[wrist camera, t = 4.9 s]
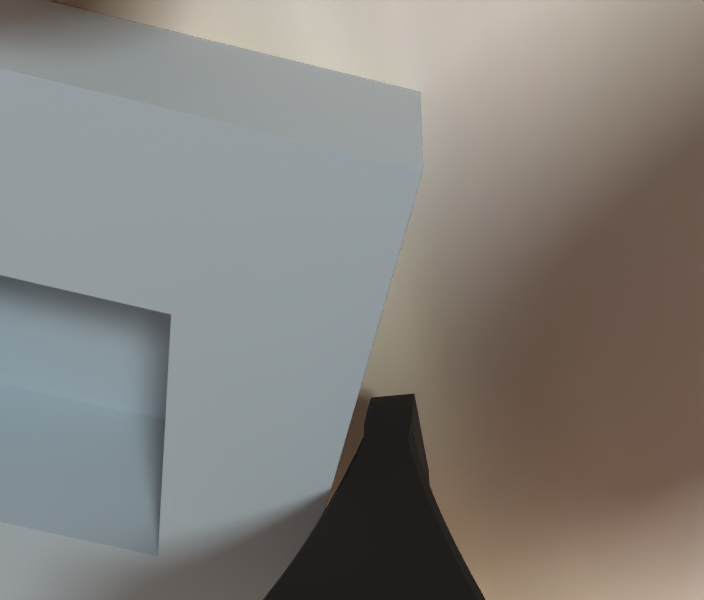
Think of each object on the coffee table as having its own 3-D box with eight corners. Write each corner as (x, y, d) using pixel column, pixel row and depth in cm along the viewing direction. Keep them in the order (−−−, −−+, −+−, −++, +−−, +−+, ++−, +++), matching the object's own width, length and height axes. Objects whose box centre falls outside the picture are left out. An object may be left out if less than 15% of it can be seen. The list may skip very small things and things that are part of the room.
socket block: (420, 91, 9) (423, 169, 6) (313, 494, 14) (281, 661, 11) (-200, -61, 9) (-578, -71, 6) (-83, 406, 14) (-241, 550, 11)
